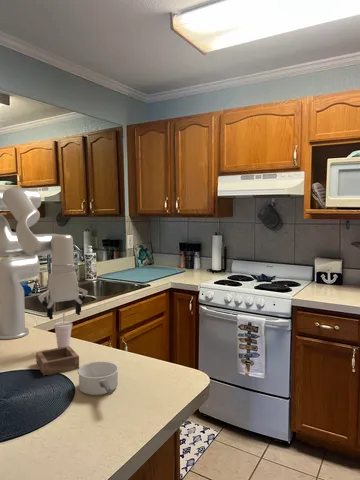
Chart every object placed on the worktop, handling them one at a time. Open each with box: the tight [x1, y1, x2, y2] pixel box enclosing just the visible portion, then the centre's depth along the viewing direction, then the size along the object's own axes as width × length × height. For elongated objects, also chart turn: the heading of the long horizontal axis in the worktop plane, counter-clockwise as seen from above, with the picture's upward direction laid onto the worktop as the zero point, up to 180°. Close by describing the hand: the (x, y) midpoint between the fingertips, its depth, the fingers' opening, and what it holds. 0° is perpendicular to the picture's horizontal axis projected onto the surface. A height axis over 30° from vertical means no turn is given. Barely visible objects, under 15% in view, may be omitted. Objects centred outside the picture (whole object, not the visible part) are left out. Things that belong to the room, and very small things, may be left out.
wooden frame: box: [35, 345, 80, 376], centre depth 117 cm, size 11×11×4 cm
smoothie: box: [53, 311, 73, 348], centre depth 131 cm, size 6×6×14 cm
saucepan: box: [77, 360, 120, 396], centre depth 99 cm, size 12×20×6 cm, turn 24°
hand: (64, 316), depth 130 cm, fingers open, 9 cm apart
